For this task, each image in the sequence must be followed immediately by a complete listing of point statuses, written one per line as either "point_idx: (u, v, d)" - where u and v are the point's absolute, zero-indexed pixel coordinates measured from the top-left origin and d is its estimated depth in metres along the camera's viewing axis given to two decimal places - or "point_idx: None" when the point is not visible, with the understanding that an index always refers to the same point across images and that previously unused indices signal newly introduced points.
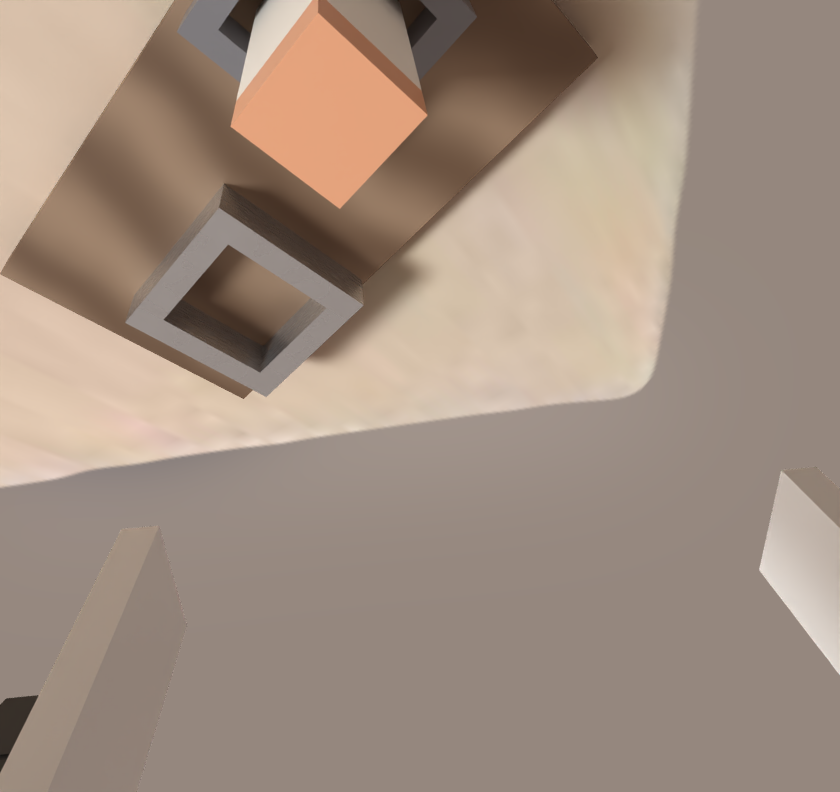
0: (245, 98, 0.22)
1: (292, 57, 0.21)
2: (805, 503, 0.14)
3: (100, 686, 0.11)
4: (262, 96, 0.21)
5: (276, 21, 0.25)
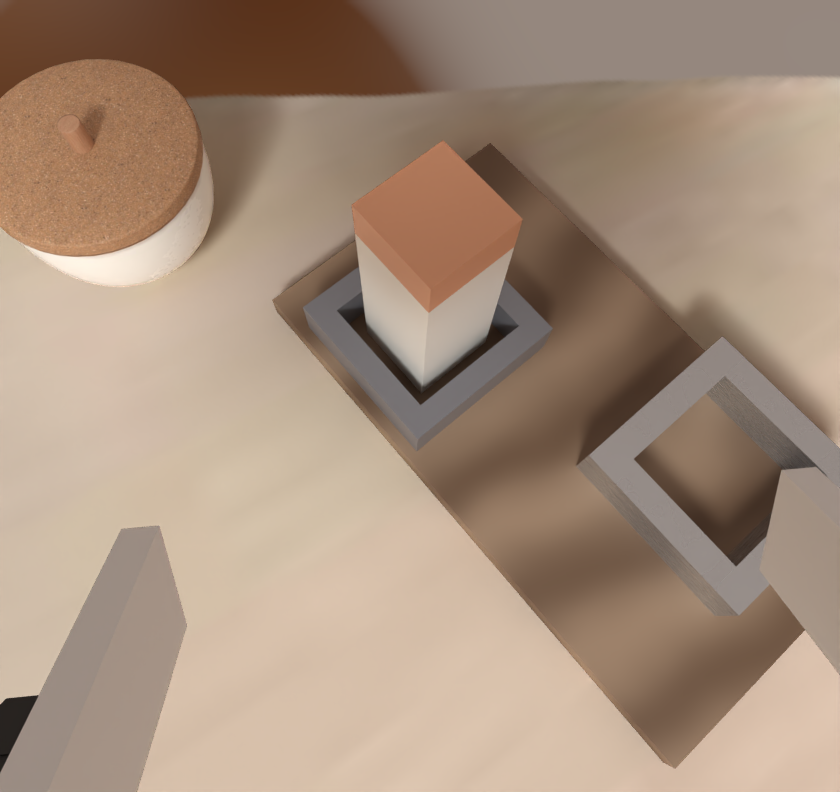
0: (417, 287, 0.26)
1: (381, 229, 0.25)
2: (805, 503, 0.14)
3: (100, 686, 0.11)
4: (408, 257, 0.25)
5: (395, 311, 0.30)
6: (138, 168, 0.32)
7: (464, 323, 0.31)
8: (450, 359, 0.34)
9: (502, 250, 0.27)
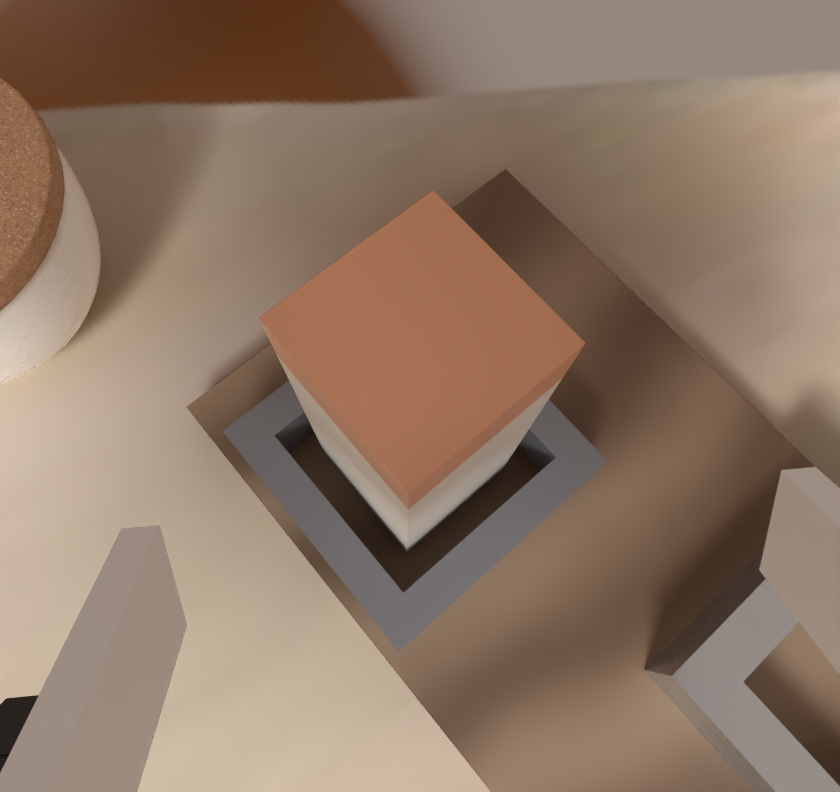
0: (385, 474, 0.13)
1: (314, 366, 0.13)
2: (805, 503, 0.14)
3: (100, 686, 0.11)
4: (366, 426, 0.13)
5: (356, 468, 0.18)
6: None
7: (472, 477, 0.19)
8: (450, 510, 0.22)
9: (543, 390, 0.15)
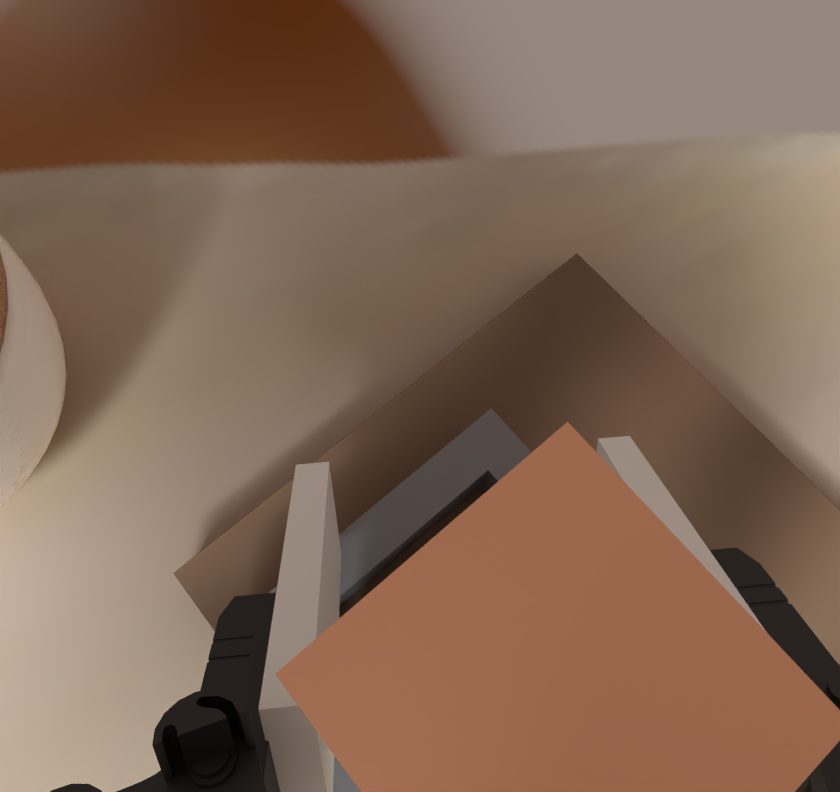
0: None
1: (374, 775, 0.07)
2: None
3: (322, 582, 0.12)
4: None
5: None
6: None
7: None
8: None
9: None
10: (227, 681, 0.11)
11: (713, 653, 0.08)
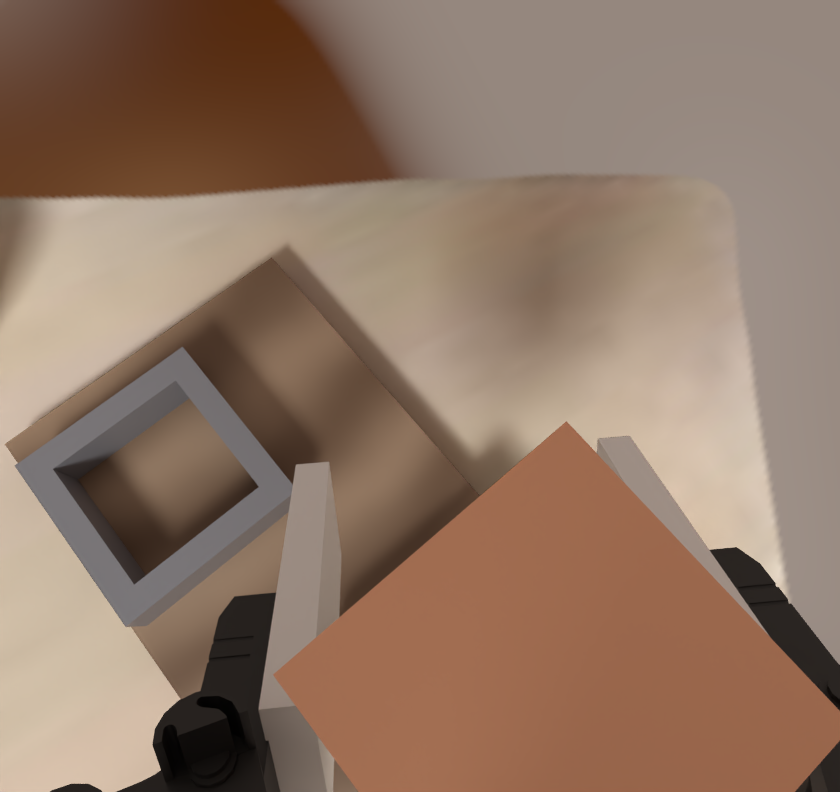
0: None
1: (373, 776, 0.07)
2: (610, 467, 0.15)
3: (322, 582, 0.12)
4: None
5: None
6: None
7: None
8: None
9: None
10: (227, 681, 0.11)
11: (712, 653, 0.08)
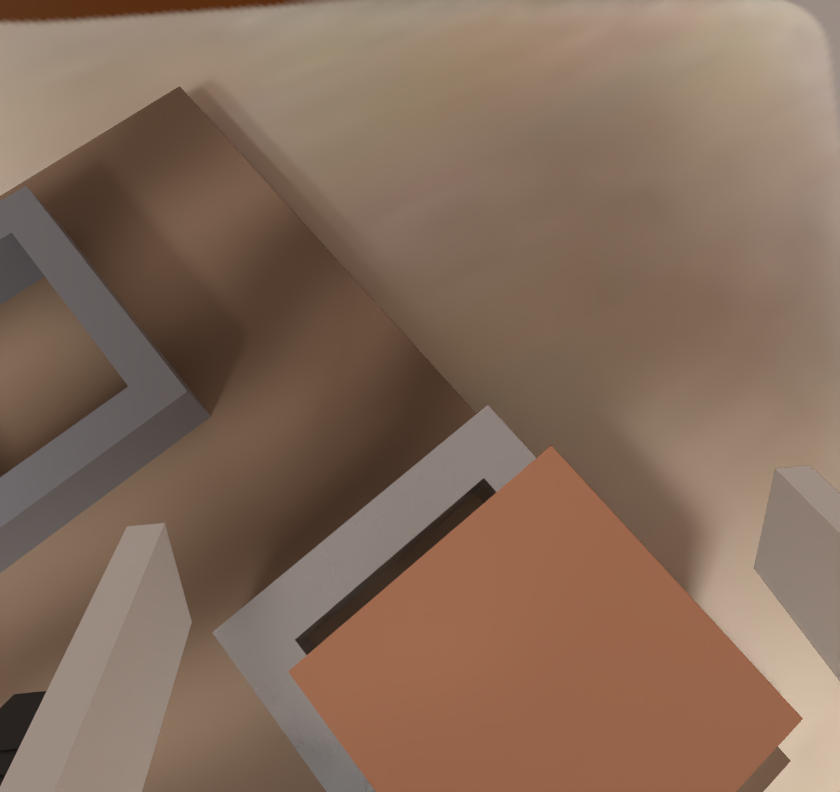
0: None
1: (376, 761, 0.08)
2: (799, 501, 0.14)
3: (107, 681, 0.11)
4: None
5: None
6: None
7: None
8: None
9: None
10: None
11: (679, 654, 0.09)
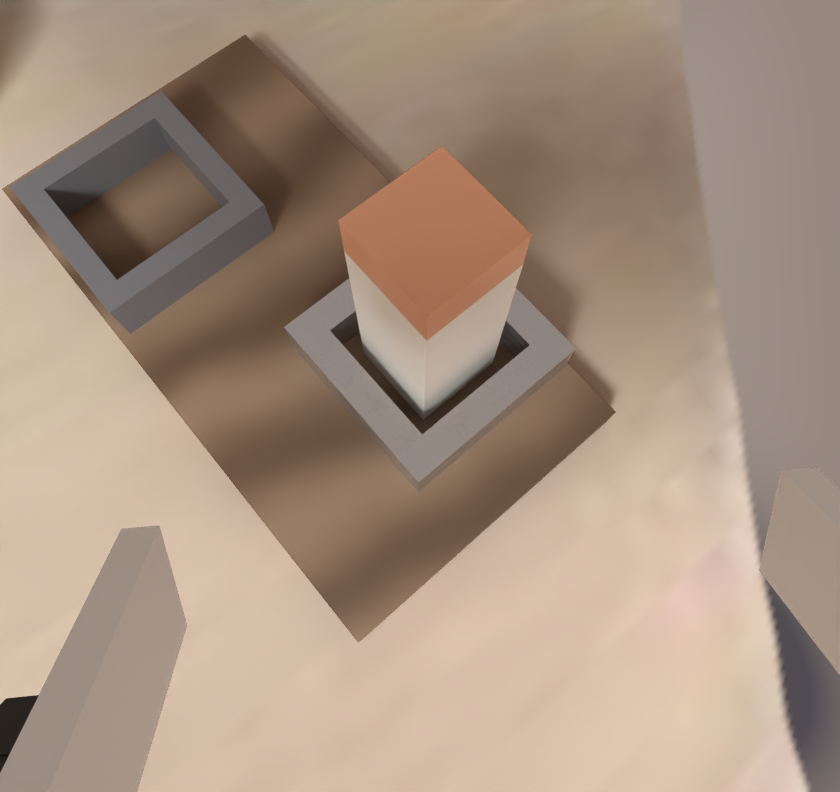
0: (413, 313, 0.23)
1: (371, 248, 0.22)
2: (806, 503, 0.14)
3: (100, 686, 0.11)
4: (402, 280, 0.22)
5: (391, 335, 0.27)
6: None
7: (468, 347, 0.28)
8: (454, 383, 0.32)
9: (509, 269, 0.24)
10: None
11: (487, 215, 0.23)
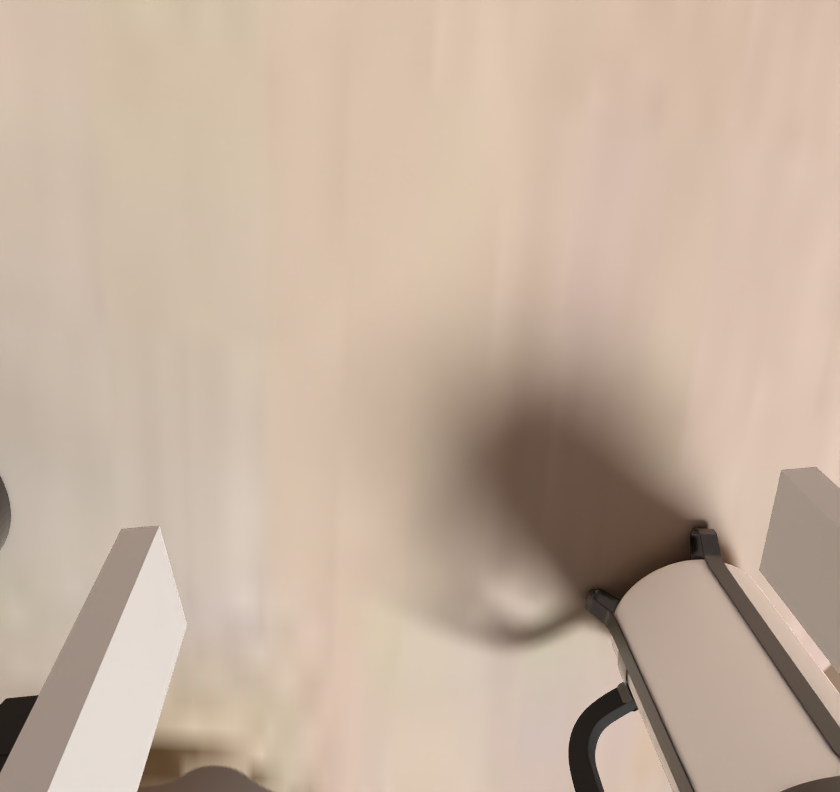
0: None
1: None
2: (806, 503, 0.14)
3: (100, 686, 0.11)
4: None
5: None
6: None
7: None
8: None
9: None
10: None
11: None
